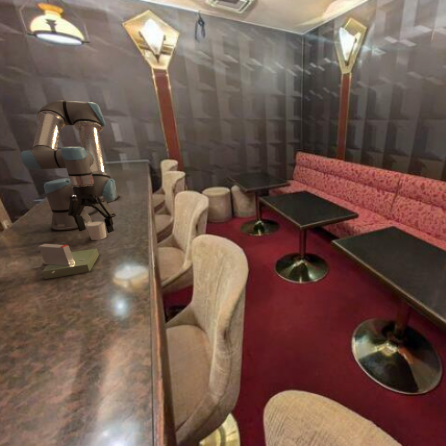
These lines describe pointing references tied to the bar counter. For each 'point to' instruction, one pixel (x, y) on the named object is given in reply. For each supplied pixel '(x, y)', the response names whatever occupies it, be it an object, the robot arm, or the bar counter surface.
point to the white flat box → (56, 254)
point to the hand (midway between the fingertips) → (96, 231)
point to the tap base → (82, 264)
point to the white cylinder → (96, 230)
